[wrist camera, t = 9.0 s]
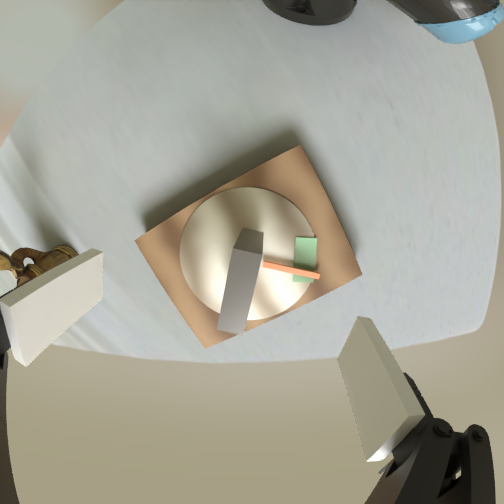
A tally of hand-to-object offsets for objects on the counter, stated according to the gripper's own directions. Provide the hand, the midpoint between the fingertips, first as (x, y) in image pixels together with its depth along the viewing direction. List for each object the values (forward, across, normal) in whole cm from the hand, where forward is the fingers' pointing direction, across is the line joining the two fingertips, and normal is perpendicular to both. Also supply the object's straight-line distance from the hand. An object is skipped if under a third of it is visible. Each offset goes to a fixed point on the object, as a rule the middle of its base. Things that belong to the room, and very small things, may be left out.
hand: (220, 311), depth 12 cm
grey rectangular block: (+20, +4, -4) cm, 21 cm away
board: (+24, 0, -4) cm, 25 cm away
